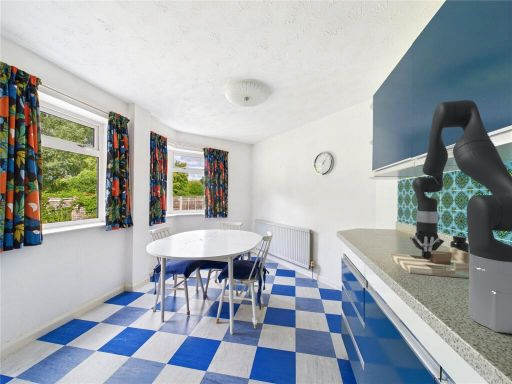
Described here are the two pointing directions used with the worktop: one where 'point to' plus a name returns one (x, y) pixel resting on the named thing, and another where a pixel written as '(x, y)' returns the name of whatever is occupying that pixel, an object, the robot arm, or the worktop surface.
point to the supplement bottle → (460, 243)
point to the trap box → (426, 267)
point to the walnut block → (440, 259)
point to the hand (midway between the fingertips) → (426, 259)
